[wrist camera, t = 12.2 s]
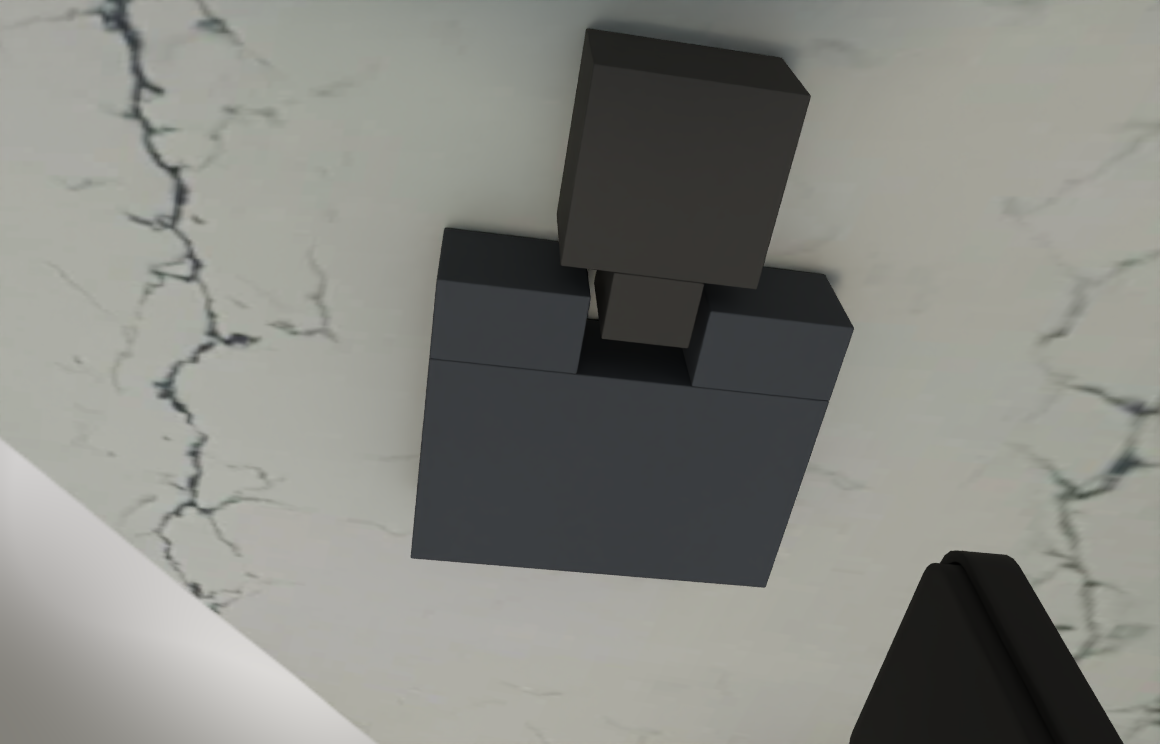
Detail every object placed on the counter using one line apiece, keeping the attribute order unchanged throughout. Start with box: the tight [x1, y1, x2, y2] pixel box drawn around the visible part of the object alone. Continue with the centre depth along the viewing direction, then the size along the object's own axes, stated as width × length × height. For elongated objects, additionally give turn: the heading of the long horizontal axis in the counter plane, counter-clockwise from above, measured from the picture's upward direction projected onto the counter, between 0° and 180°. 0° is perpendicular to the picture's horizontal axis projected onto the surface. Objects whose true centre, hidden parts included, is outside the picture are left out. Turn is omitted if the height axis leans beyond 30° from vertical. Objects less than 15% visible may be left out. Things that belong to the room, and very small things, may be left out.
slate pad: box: [411, 228, 854, 587], centre depth 39 cm, size 12×14×4 cm
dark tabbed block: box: [557, 29, 811, 348], centre depth 34 cm, size 9×6×4 cm
